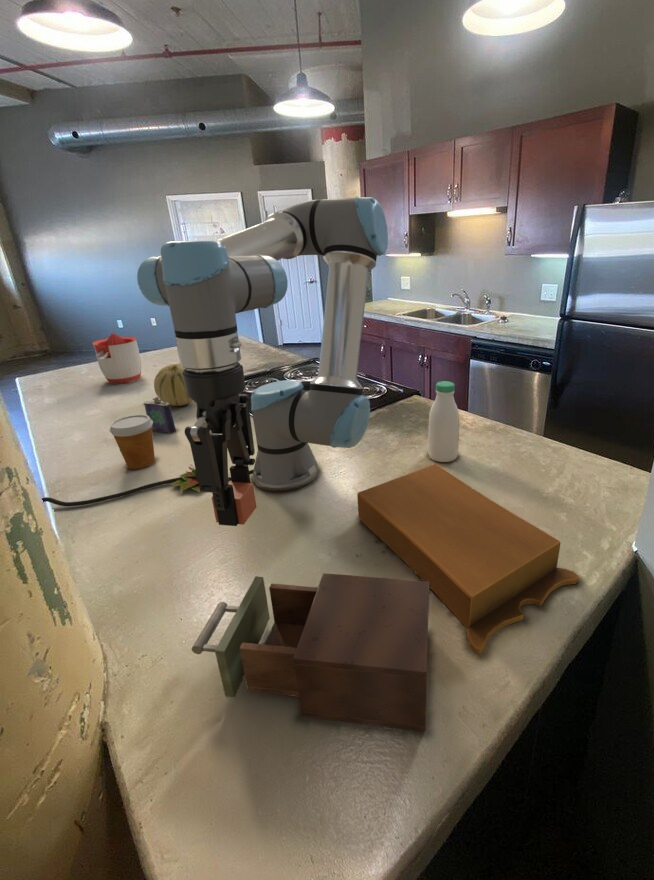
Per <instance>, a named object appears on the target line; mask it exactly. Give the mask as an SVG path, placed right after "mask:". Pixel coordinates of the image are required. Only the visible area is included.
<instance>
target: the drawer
mask: <svg viewBox="0 0 654 880" xmlns="http://www.w3.org/2000/svg"><path fill="white" fill-rule="evenodd" d="M268 588H269V596H270V602H271V608H272V609H271V610H272V614H273V621H274V623H273V625H272V627H271V630H270V632H269V634H268V636H267V639H266V641H265V644H261V643H260V641H261V639H262V636H263V634H264V632H265V630H266V628H267V625H268V623H269V621H270V611H269V605H268V604H269V603H268V597H267V591H266V585H265V578H264V576H258V575H256V576H254V577H253V579H252V582H251V584H250V586H249V587H248V589H247V591H246V593H245V595H244V597H243V598H242V600H241V602H240V604H239V606H238V605H228V603H227V602H226V601H219V602H218V604H217V605H216V607H215V609H214V610H213V612H212V614H211V615H210V617H209V619H208V621H207V622H206V624H205V625H204V627H203V629H202V630H201V631H200V633H199V635H198V636H197V638H196V640H195V641H194V643H193V644H192V647H191V651H192V653H194V654H195V655H201V654H203V652H206V653H207V652H209V653H215V657H216V662H217V667H218V671H219V676H220V679H221V683H222V688H223V692H224V697H225V698H232V699H235V698H236V695H237V692H238V690H239V688H240V686H241V684H242V682H243V680H244V679H245V685H246V689H247V691H248V692H255V693H264V694H272V695H273V694H274V695H280V696H281V695H282V696H290V697H297V698H299V696H298V689H297V682H296V674H295V667H294V659H293V658H294V655H295V652H296V649H297V646H298V643H299V641H300V638H301V635H302V632H303V629H304V626H305V623H306V620H307V618H308V615H309V612H310V609H311V606H312V603H313V600H314V597H315V595H316V592H317V589H318V586H308V585H307V586H306V585H293V584H281V583H270V585H269V587H268ZM226 612H227V613H234V615H233V617H232V619H231V621H230V622H229V624H228V626H227V628H226V630H225V632H224V633H223V635H222V637H221V638H220V640H219V642H218V644H209V642H210V640H211V638H212V636H213V634H214V633H215V631H216V629H217V627H218V626H219V624H220V623H221V620H222V619H223V617H224V615H225V613H226Z"/></svg>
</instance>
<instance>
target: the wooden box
mask: <svg viewBox="0 0 654 880" xmlns="http://www.w3.org/2000/svg"><path fill="white" fill-rule="evenodd" d="M356 495H357V496H356V497H357V513H358V515H357V516H358V518H359V519H360V521H361V522H362V523H363V524H364V525H365V526H366V527H367V528H369V530H370V531H372V533H374V534H375V535H376V536H377V537H378V538H379V539H380V540H381V541H382V542H383V543H385V544H386V546H387V547H389V548H390V549H391V550H392V551H393V552H394V553H395V554H396V555H397V556H398V557H399V558H400V559H401V560H402V561H403V562H405V564H406V565H407V566H408V567H409V568H410V569H411V570H412V571H413V572H414V573H415V574H416V575H417V576H418V577H419V579H421V581H428V582H429V589H430V590H432V592H433V593H434V594H435V595H436V596H437V597H438V598H439V599H440V600H441V601H442V602H443V604H445V605H446V607H447V608H448V609H449V610H450V611H451V612H452V613H453V614H454V615H455V616H456V617H457V619H458V620H459V621H460V622H461V623H462V625H463V626H464V627H465V628H466V633H467V642H468V644H469V647H470V649H471V650H472V651H473V652H474V653H476V654H482V653H484V651H485V648H486V645H487V644H488V640H489V639H490V638H491V637H492V636H493V635H494V633H496V632H497V631H499V630H500V629H502V628H503V627H505V626H508V625H512V624H514V623H517V622H521V621H523V619H524V613H522V611H521V607H522V606H524V605H527V604H533V605H537V606H538V607H542V606H543V604H544V603H545V601H546V599H547V598H548V597H549V595H550V594H551V593H552V592H553V591H555V590H556V589H558V588H560V587H562V586H568V585H575V584H577V583H579V580H580V577H579V575H578V574H577V573H576V572H574V571H573V570H569V569H567V568H563V567H558V562H559V556H560V549H561V544H562V543H561V541H560V540H559V539H557V538H556V537H554V536H553V535H551V534H550V533H547V532H546V531H544V530H542V529H540V528H539V527H537V526H536V525H534V524H532V523H530V522H529V521H527V520H525V519H523V518H522V517H521V516H518V515H517V514H515V513H514V512H511V511H510V510H509V509H508V508H506V507H504V506H502V505H500V504H499V503H497V502H495V501H494V500H492V499H490V498H488V496H485V495H484V494H482V493H481V492H479V491H478V490H476V489H475V488H472V486H470V485H469V484H467V483H466V482H464V481H462V480H461V479H459V478H458V477H456V476H455V475H454V474H452V473H450V472H449V471H447V470H446V469H444V468H443V467H441V466H440V465H438V464H437V463H434V464H431V465H427V466H426V467H423V468H420V469H417V470H415V471H412V472H410V473H407V474H404V475H401V476H399V477H396V478H394V479H390V480H388V481H385V482H383V483H380V484H378V485H377V484H376V485H375V486H372V487H370V488H366V489H364V490H362V491H359V492H357V494H356Z"/></svg>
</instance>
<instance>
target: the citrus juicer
mask: <svg viewBox="0 0 654 880" xmlns="http://www.w3.org/2000/svg"><path fill="white" fill-rule="evenodd" d="M92 346H93V348H94V352H95V359H96V360H97V363H98V366H99V369H100V371H101V373H102V375H103V376H104V378H105V379H106V381H107V382H108V383H110V384H128V383H130V382H135V381H137V380H139V379H141V375H142V359H141V354H140V350H139V346H138V342H137V337H135V336H119V335H118V334H116V333H114V332H113V333H111V334H110V335H109V337H108V338H103V339H98V340H96V341H95V340H94V341H93V342H92Z"/></svg>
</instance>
